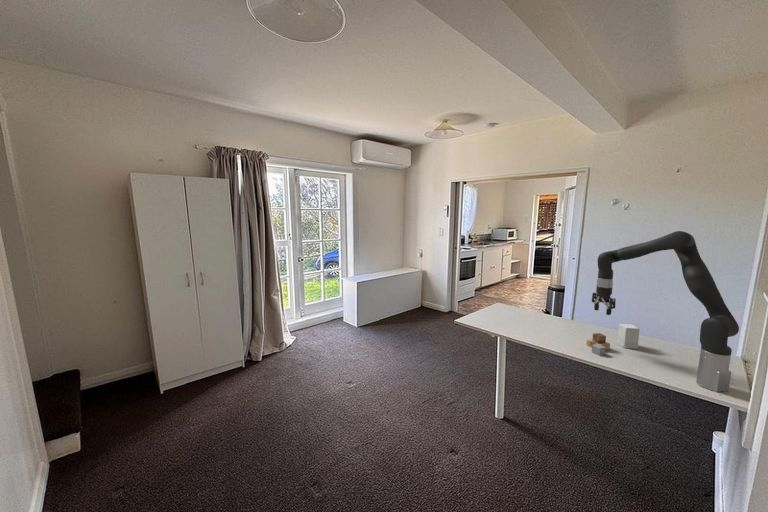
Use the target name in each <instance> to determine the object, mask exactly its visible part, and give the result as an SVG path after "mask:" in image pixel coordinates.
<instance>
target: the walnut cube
mask: <svg viewBox="0 0 768 512" xmlns="http://www.w3.org/2000/svg"><path fill="white" fill-rule="evenodd" d="M606 338H607V336H606V335H605V334H603V333H600V332H595V333H592V338H591V339H592V341H594V342H596V343H598V344H601V343H605V342H607V339H606Z"/></svg>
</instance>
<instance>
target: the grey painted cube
mask: <svg viewBox="0 0 768 512" xmlns="http://www.w3.org/2000/svg"><path fill="white" fill-rule="evenodd" d="M605 348H606V347H604V346H601V345H599V344H595V345H592V348H591V354H594V355H597V356H599V357H600V356H604V355H606V350H605Z"/></svg>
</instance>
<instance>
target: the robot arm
mask: <svg viewBox="0 0 768 512" xmlns="http://www.w3.org/2000/svg"><path fill="white" fill-rule="evenodd" d="M668 250H673V251H674V252H675V255H677V257H678V259H679V262H680V266H681V271H682V275H683V279H684V282H685V284H686V286H687V289H688V290H689V292H690V293H691V295H693V296H694V297H695V298H696V299H697V300H698V301H699V302H700V303H701V304H702V305H703V306H704V308H705V310H706V311H707V314H708V316H709V317H707V318H705V319H704V320H702V322H701V325H700V329H699V330H700V331H699V342H700V353H699V360H698V366H697V375H696V380H695V381H696V384H697V385H698V386H700V387H702V388H705V389H707V390H710V391H712V392H713V391H714V392H716V393H720V392H721V391H723V392H729V390H730V383H731V379H732V378H731V377H732V371H730V364H731V359H732V351H733V349H732V348H731V347H730V346H729V345H728V343H729V342H728V339H729V338H730V337H735V336H736V335H738V333H740V332H739V331H740V327H739V324H738V322H737V321H736V318H735V316H733V314H732V312H731V311H730V310H729V307H728V306H727V305H726V303H725V301H724V298H723V297H722V294H721V293H720V290H719V289H718V286H717V284H716V282H715V280H714V279H715V278H713V275H712V273H711V272H710V270H709V269H708V266H707V265H706V264H705V262H704V260H703V258H702V257H701V255H700V252H699V250H698V247H697V244H696V239H695V238H694V236H693V235H692V234H691V233H689V232H686V231H682V230H677V231H674V232H671V233H668V234H666V235H663V236H660V237H658V238H655V239H652V240H648V241H646V242H641V243H636V244H632V245H629V246H624V247H621V248H619V249H614V250H609V251H604V252H601V253H600V254H599V255H598V256H597V269H598V272H597V279H596V290H595V292H592V295H591V303H593V306H594V308H593V309H594V311H599V310H600V303H603V304H604V306H605V307H606V313H605V315H607V316H610V315H612V310H613V309H616V300H617V299H616V298H615V297H611V296H612V294H613V286H614V280H613V278H614V270H613V269H612V266H613V263H617V262H621V261H629V260H632V259H637V258H641V257H644V256H646V255H649V254H653V253H657V252H662V251H668Z"/></svg>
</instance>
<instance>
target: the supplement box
mask: <svg viewBox="0 0 768 512" xmlns="http://www.w3.org/2000/svg"><path fill="white" fill-rule="evenodd" d="M639 337H640V328H639V327H637V326H635V325H634V324H629V323H627V324H626V323H618V334H617V341H616V342H617V344H618V345H620V346H621V347H622V348H625V349H635V350H636V349H637V350H638V348H639Z"/></svg>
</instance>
